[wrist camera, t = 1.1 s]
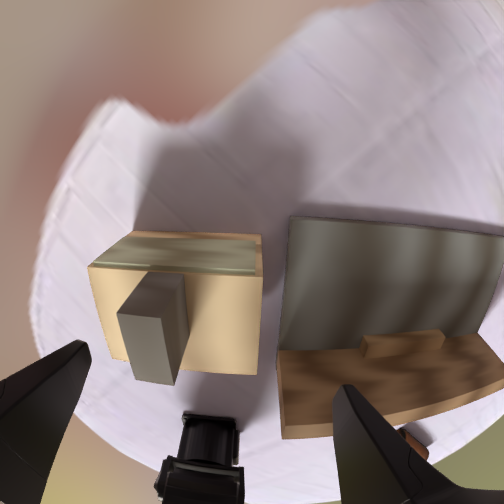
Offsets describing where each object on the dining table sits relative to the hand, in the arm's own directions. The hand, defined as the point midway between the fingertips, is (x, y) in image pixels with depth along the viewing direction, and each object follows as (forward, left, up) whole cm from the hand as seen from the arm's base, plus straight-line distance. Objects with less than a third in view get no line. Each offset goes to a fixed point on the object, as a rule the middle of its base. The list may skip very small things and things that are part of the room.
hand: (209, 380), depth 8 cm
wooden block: (-3, -3, -13) cm, 14 cm away
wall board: (+16, -5, -13) cm, 21 cm away
